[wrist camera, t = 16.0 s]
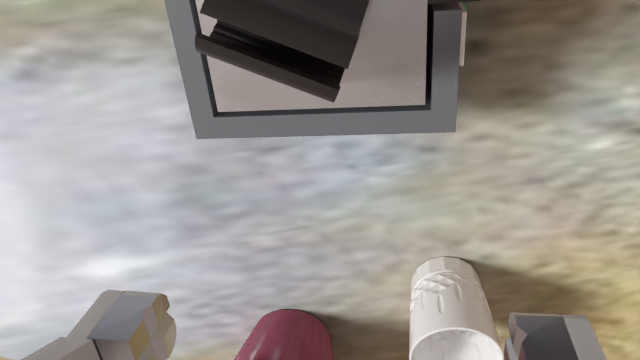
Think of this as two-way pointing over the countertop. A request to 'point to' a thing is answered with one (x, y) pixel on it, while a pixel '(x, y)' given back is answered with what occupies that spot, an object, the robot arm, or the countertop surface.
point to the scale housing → (430, 118)
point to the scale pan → (358, 80)
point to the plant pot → (288, 338)
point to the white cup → (450, 314)
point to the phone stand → (286, 39)
